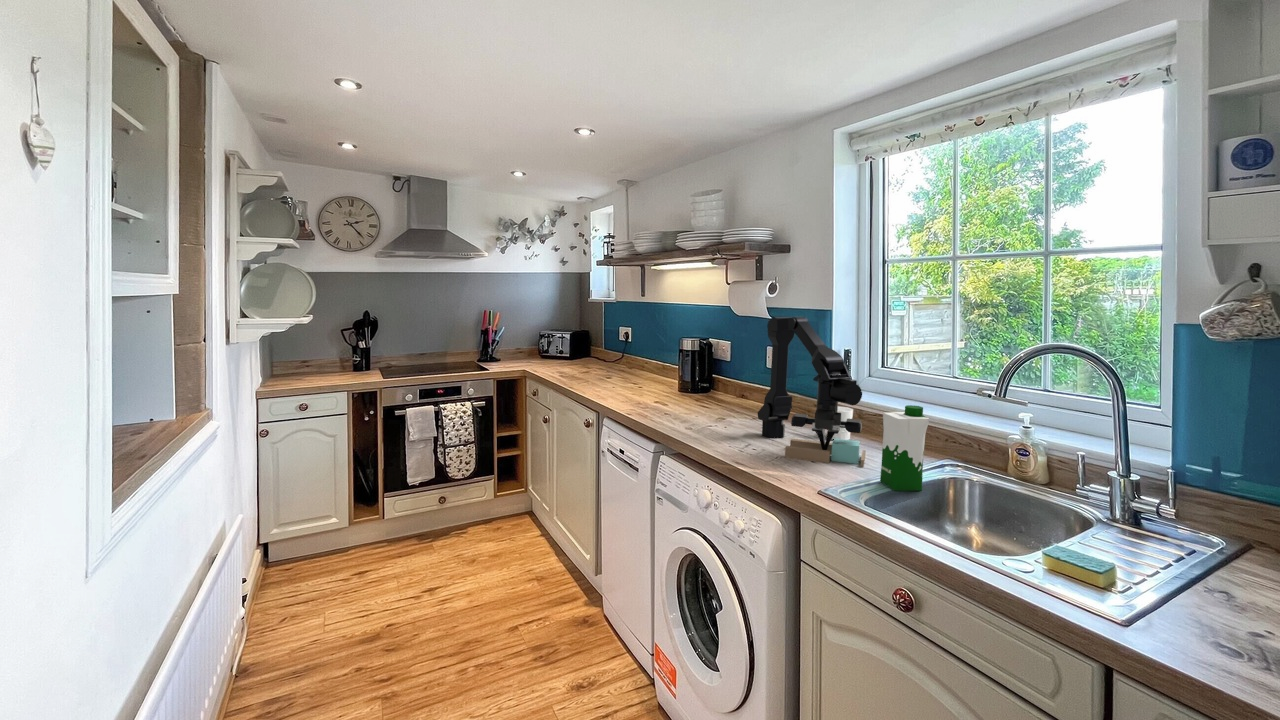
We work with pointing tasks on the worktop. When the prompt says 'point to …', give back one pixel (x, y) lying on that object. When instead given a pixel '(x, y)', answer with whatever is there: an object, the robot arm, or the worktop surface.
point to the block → (845, 451)
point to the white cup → (845, 414)
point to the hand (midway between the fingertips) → (824, 452)
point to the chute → (811, 451)
